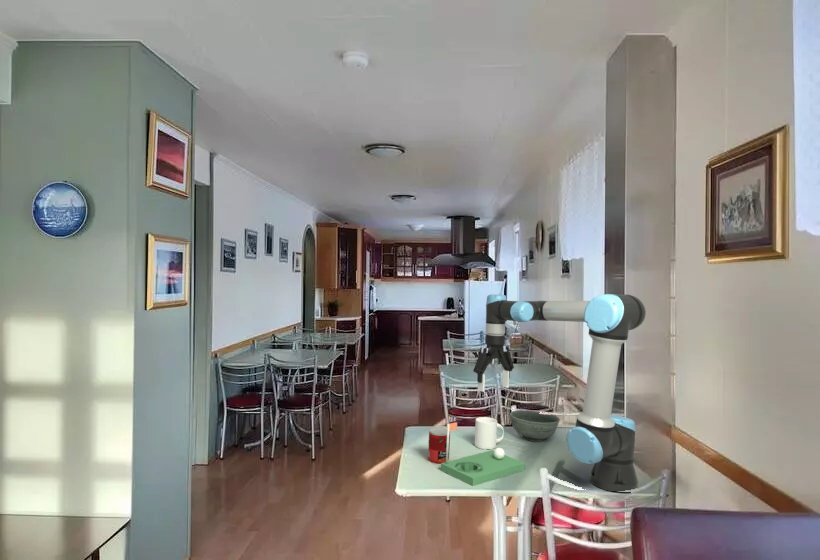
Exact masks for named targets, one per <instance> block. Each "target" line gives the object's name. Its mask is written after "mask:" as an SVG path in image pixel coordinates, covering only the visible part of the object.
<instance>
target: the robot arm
mask: <svg viewBox="0 0 820 560" xmlns="http://www.w3.org/2000/svg"><path fill="white" fill-rule="evenodd" d="M485 314H486V315H485V333H486V334H485V338H484V339H485V340H484V344H486V347H480V348H479V353H478V356H477V360H476V362H475V365H474V368H473V370H472V372H473V373H475V374H477V378H476V379H477V391H479V392H482V393H484V392H485V387H486V383H485V381H486V378H485V377H486V374H485V371H486V370H487V368H488V366H489V365H490V363H491V361H493V360H495V359H496V360H497V359H498V361H499V362H500V364H501V367H502V368H503V370H502V381H501V383H502V384H501V386H502V388H506V389H509V388H510V387H509V386H510V375H511V373H510V372H512V371H513V370H514V369H515V367H514V366H515V365H514V363H513V360H512V357H511V353H510V347H509V346H508V345H505V343H506V336H505V334H506V321H511V322H517V323H527V322H530V321H540V322H541V321H543V322H544V321H545V322H547V321H548V322H549V321H550V322H551V321H552V322H573V323H574V322H578V323H586V326H587V328H588V336H589V337H590V338H591V340H592V341H591V342H592V343H591V348H590V349H591V350H590V354H589V355H590V357H589V358H590V359H589V363H588V364H589V365H588V370H587V379H586V385H585V393H584V399H583V406H582V411H581V412H580V413H579V414H577V416H576V419H575V421H576V422H575V426H573V427H572V428H571V429H570V430H568V433H567V436H566V445H567V447H568V450H569V452H571V454H572V457H574V458H575V459H576V460H577V461H578V462H581V463H583V464H586V465H587V464H589V465H590V464H594V465H593V467H592V470H591V471H590V483H591V484H592V485H593V486H595V487H597V488H599V489H602V490H603V491H604V490H605V491H607V490H608V492H612V491H625V490H631V489H635V488H638V489H639V479H638V476H637V475H638V474H637V471H636V468H635V463H634V462H635V460H634V459H635V458H634V457H635V443H636V442H635V441H636V432H637V431H636V423H635V421H634V420H633V419H632V418H628V417H627V416H621V415H617V414H612V411H613V403H614V396H615V391H616V390H615V389H616V384H617V383H616V382H617V375H618V369H619V363H620V358H621V357H620V356H621V348H622V345H623V344H624V343H625V342H627V341H628V338H629V331H632V330H635V329H636V328H639V327H640V326H641V325H642V324H643V323H644V321H645V319H646V308H645V305H644V303H643V301H642V300H641V299H639V298H638V297H637V296H634V295H632V294H616V293H613V294H611V293H605V294H601V295H600V294H599V295H596V296H594V297H593V298H591V299H590V300H507V296H506V295H504V294H488V295H487V296H486V304H485Z"/></svg>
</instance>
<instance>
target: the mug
mask: <svg viewBox="0 0 820 560" xmlns="http://www.w3.org/2000/svg"><path fill="white" fill-rule="evenodd" d="M474 429H475V430H474V446H475V447H476V448H477V449H481V450H485V449H490V450H495V449H496V448H497V444H498V443H500V442H501V441H502V440H503V438H504V437H505V430H504V426H502V425H501V424H500V423H498V420H497V419H495V418H493V417H489V416H483V417H482V416H481V417H477V418H475V428H474ZM498 429H501V430H502V436H500V437H499V438H497V437H498V436H497V434H498Z"/></svg>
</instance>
